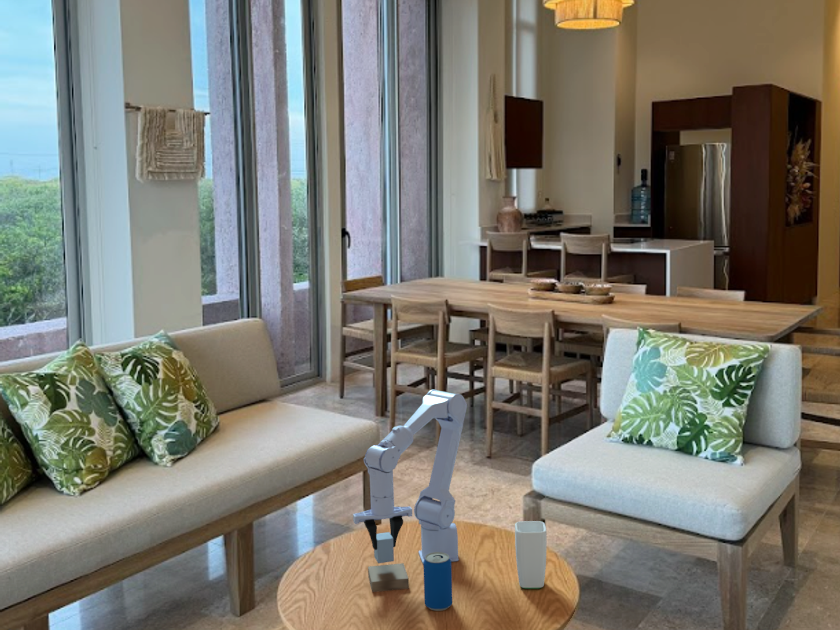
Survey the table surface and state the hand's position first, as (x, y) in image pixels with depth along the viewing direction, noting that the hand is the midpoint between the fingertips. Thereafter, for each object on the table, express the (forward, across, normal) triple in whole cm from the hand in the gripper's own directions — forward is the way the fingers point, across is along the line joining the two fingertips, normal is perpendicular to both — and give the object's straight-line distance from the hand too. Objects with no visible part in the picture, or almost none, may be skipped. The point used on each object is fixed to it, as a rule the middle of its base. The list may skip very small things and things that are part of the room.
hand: (384, 546), depth 222 cm
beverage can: (+9, -8, +17) cm, 21 cm away
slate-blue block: (+3, 0, 0) cm, 3 cm away
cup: (+9, -33, +14) cm, 37 cm away
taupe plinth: (+9, 0, +1) cm, 9 cm away
